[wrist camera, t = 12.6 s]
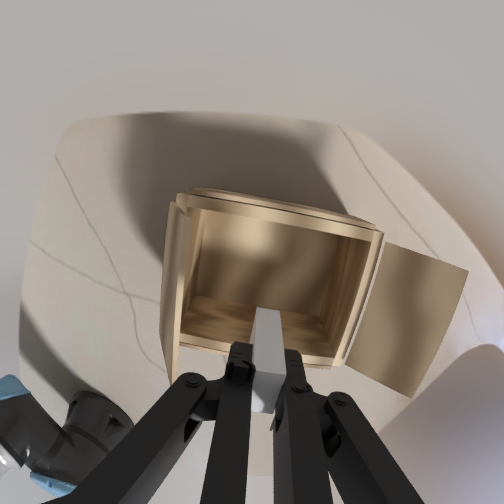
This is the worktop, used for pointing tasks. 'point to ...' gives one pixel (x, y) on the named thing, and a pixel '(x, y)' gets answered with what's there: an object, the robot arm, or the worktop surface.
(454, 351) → the worktop surface
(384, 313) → the flap
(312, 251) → the carton
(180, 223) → the flap
